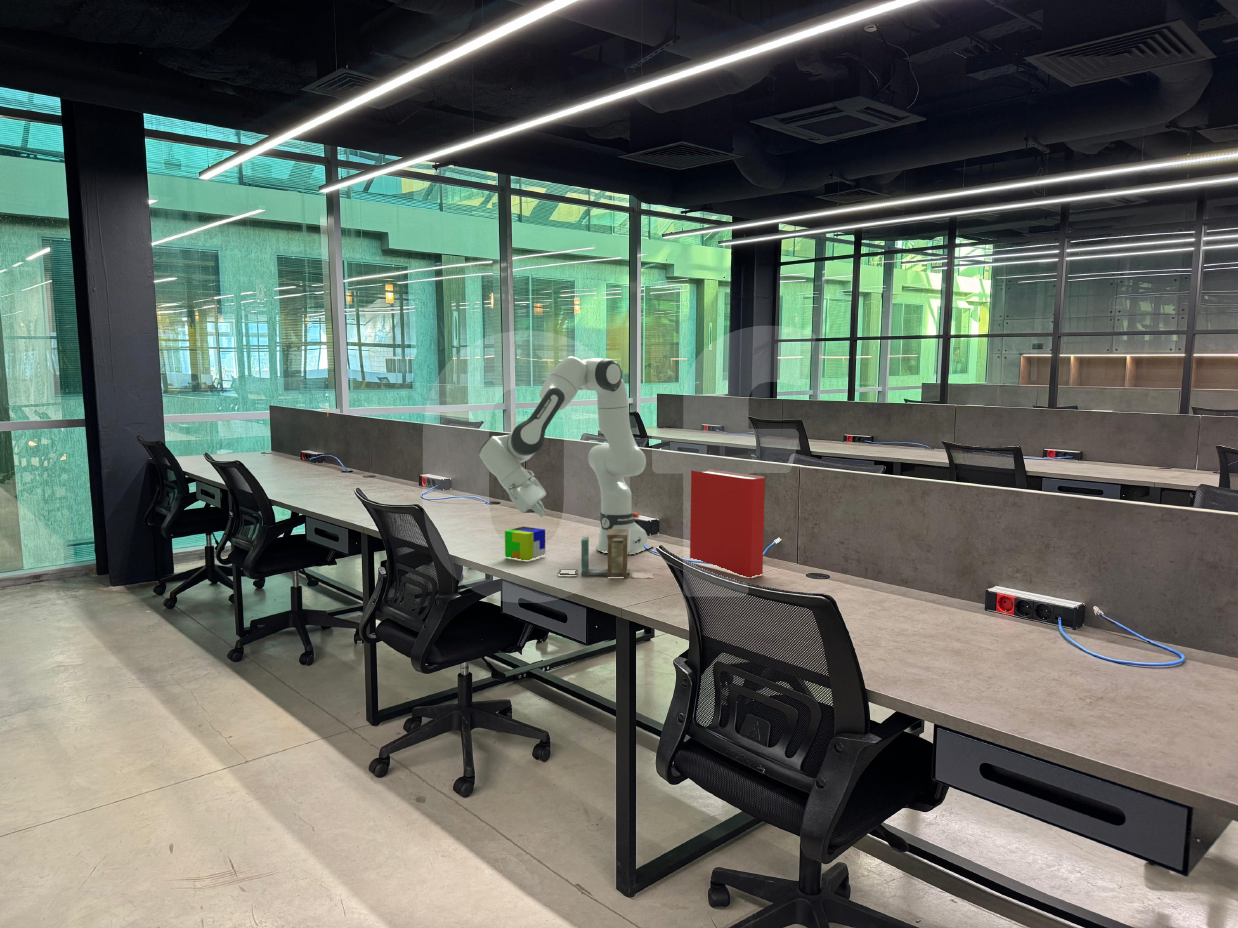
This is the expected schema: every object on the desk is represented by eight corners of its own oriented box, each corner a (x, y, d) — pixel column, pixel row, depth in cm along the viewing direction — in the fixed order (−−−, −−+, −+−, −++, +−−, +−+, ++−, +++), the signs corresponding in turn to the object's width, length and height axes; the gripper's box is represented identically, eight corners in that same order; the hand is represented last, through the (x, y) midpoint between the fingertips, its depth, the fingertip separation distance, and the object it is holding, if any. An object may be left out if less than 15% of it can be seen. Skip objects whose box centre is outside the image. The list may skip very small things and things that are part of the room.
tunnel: (606, 578, 251) (607, 534, 249) (608, 571, 260) (608, 528, 258) (627, 578, 251) (627, 534, 249) (627, 571, 260) (628, 529, 258)
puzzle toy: (545, 557, 280) (545, 529, 279) (527, 562, 272) (527, 534, 271) (523, 553, 286) (523, 526, 285) (505, 559, 277) (504, 530, 276)
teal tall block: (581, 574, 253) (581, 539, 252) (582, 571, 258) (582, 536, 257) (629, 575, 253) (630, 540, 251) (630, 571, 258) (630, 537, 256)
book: (689, 562, 273) (691, 470, 269) (706, 559, 278) (708, 468, 274) (748, 579, 251) (750, 479, 248) (765, 575, 256) (767, 477, 252)
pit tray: (557, 576, 253) (557, 573, 253) (559, 572, 259) (559, 569, 259) (576, 577, 253) (576, 573, 253) (577, 572, 259) (577, 569, 259)
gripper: (514, 481, 242) (542, 516, 242) (532, 469, 262) (559, 502, 262) (499, 494, 243) (528, 529, 244) (519, 481, 263) (545, 513, 264)
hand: (544, 514), depth 253 cm, fingers closed
